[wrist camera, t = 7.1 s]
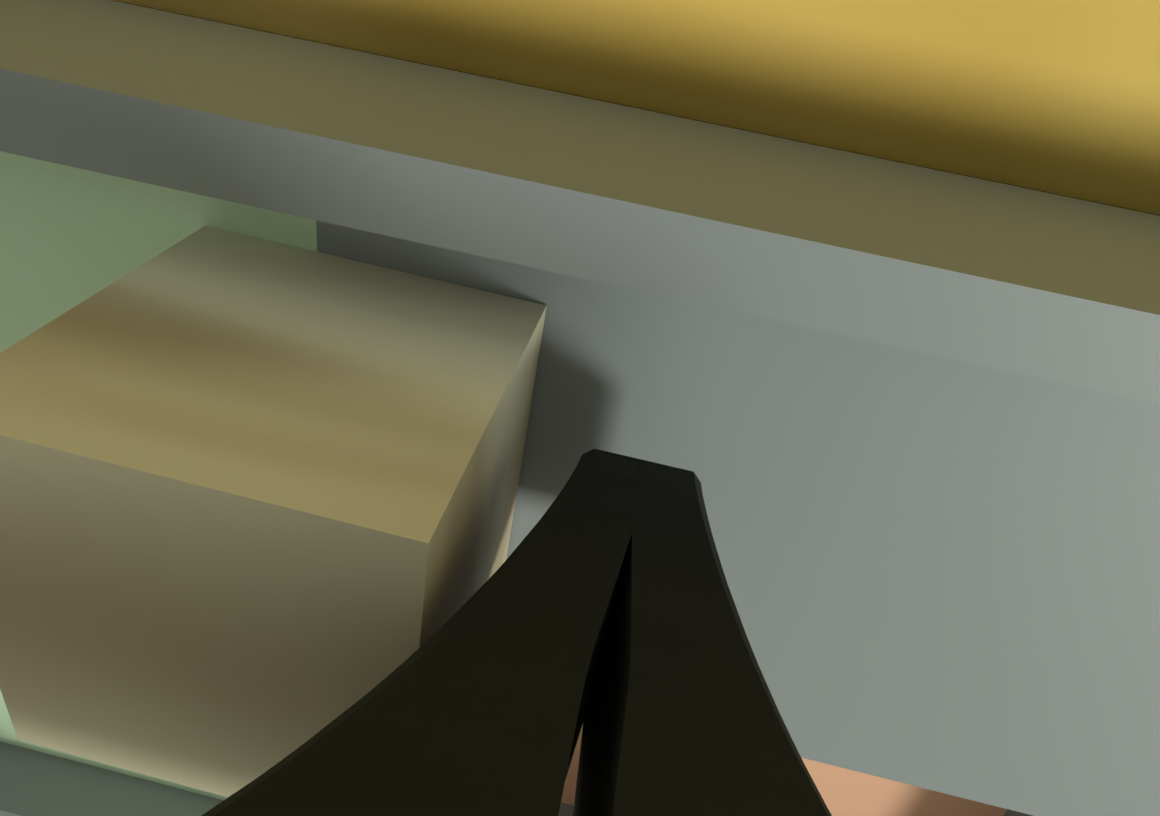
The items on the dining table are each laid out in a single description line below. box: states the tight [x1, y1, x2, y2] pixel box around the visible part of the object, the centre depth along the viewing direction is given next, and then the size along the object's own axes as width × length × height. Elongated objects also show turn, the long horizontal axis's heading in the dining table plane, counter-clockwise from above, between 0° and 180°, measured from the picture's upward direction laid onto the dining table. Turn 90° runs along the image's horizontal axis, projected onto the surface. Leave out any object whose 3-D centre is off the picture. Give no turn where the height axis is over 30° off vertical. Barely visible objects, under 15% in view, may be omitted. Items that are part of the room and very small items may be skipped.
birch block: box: [0, 226, 547, 797], centre depth 9 cm, size 4×4×4 cm
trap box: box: [0, 0, 1160, 816], centre depth 13 cm, size 15×27×3 cm, turn 81°
